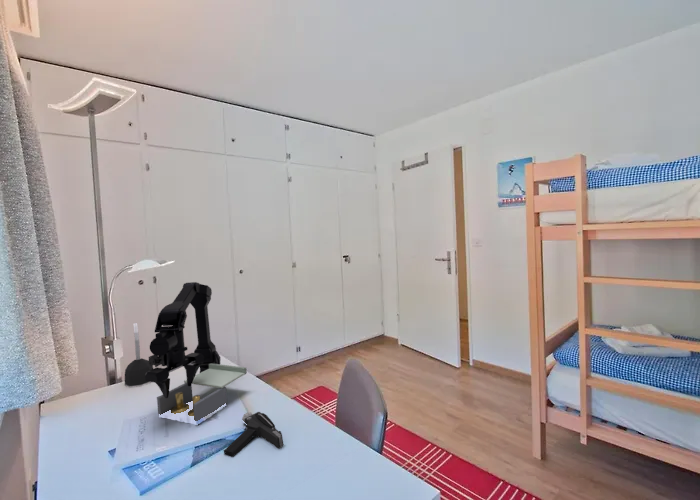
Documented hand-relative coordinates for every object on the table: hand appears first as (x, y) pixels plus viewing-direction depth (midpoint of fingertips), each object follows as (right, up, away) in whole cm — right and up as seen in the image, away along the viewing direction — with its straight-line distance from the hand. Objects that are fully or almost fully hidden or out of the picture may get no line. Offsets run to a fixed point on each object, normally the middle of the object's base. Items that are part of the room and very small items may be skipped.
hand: (178, 391), depth 117 cm
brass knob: (+7, -7, -2) cm, 10 cm away
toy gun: (+28, -8, -16) cm, 33 cm away
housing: (+5, -8, +1) cm, 9 cm away
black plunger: (-31, -8, +30) cm, 44 cm away
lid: (+8, +1, +11) cm, 14 cm away
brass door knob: (0, -7, +1) cm, 7 cm away
